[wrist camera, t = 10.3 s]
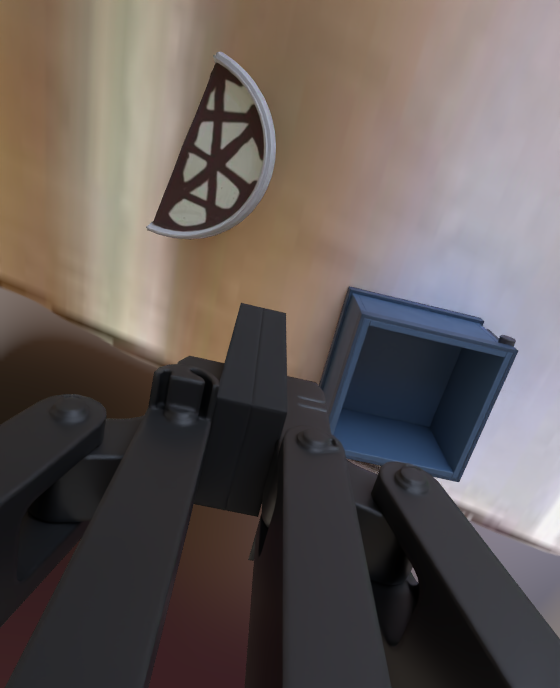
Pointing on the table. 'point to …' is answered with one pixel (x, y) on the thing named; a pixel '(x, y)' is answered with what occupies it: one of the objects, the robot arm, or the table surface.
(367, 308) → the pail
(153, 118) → the table surface
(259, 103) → the food container
